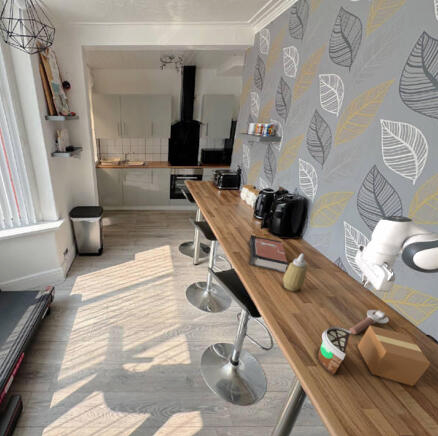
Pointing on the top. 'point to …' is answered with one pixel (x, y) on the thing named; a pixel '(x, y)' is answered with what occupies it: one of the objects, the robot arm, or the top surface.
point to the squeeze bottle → (295, 274)
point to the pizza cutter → (369, 321)
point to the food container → (333, 347)
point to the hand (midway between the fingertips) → (365, 285)
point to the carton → (392, 355)
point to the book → (267, 254)
